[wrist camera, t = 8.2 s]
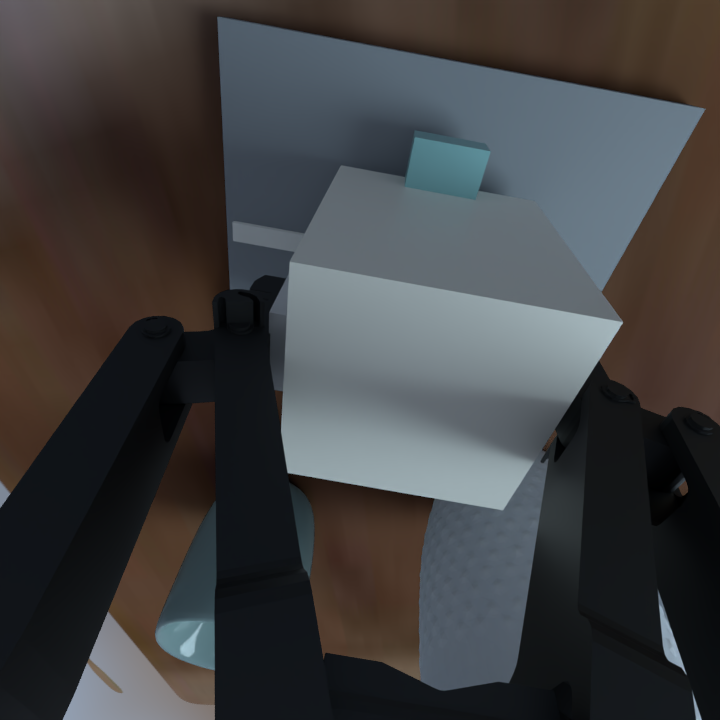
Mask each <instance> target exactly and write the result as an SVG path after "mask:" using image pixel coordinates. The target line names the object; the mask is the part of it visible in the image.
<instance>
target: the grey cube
mask: <svg viewBox="0 0 720 720" xmlns="http://www.w3.org/2000/svg"><path fill="white" fill-rule="evenodd" d="M490 152H491V151H490V150H489V148H488V147H487V145H486V144H485V143H480V142H475V141H470V140H465V139H459V138H454V137H449V136H443V135H438V134H433V133H427V132H422V131H417V130H415V131H414V136H413V141H412V145H411V150H410V155H409V160H408V165H407V170H406V175H405V177H402V176H397V175H391V174H386V173H380V172H375V171H370V170H364V169H359V168H353V167H348V166H343V165H341V166H340V168H339V170H338V172H337V174H336V175H335V177H334V179H333V181H332V183H331V185H330V187H329V189H328V190H327V192H326V194H325V196H324V198H323V200H322V202H321V204H320V205H319V207H318V209H317V211H316V213H315V215H314V217H313V219H312V221H311V222H310V224H309V226H308V228H307V230H306V232H305V234H304V236H303V237H302V239H301V241H300V243H299V245H298V247H297V249H296V251H295V252H294V254H293V256H292V258H291V260H290V264H289V284H288V304H287V324H286V343H285V363H284V383H283V403H282V422H281V434H282V441H283V447H284V453H285V459H286V466H287V472H288V473H291V474H297V475H303V476H308V477H314V478H320V479H326V480H331V481H337V482H343V483H349V484H354V485H360V486H366V487H372V488H377V489H383V490H389V491H395V492H400V493H406V494H412V495H418V496H423V497H429V498H435V499H441V500H446V501H452V502H458V503H464V504H469V505H475V506H481V507H487V508H492V509H498V510H504V508H505V507H506V505H507V503H508V502H509V500H510V499H511V497H512V496H513V494H514V492H515V491H516V489H517V488H518V486H519V485H520V483H521V481H522V480H523V478H524V477H525V475H526V474H527V472H528V471H529V469H530V467H531V466H532V464H533V463H534V461H535V460H536V458H537V456H538V455H539V453H540V452H541V450H542V449H543V447H544V445H545V444H546V442H547V441H548V439H549V438H550V436H551V434H552V433H553V431H554V430H555V428H556V427H557V425H558V424H559V422H560V420H561V419H562V417H563V416H564V414H565V413H566V411H567V409H568V408H569V406H570V405H571V403H572V402H573V400H574V398H575V397H576V395H577V394H578V392H579V391H580V389H581V388H582V386H583V384H584V383H585V381H586V380H587V378H588V377H589V375H590V373H591V372H592V370H593V369H594V367H595V366H596V364H597V362H598V361H599V359H600V358H601V356H602V355H603V353H604V351H605V350H606V348H607V347H608V345H609V344H610V342H611V341H612V339H613V337H614V336H615V334H616V333H617V331H618V330H619V328H620V326H621V325H622V323H623V321H622V320H621V319H620V317H619V316H618V314H617V313H616V312H615V310H614V309H613V308H612V306H611V305H610V304H609V302H608V301H607V299H606V298H605V297H604V295H603V294H602V293H601V291H600V290H599V288H598V287H597V286H596V284H595V283H594V282H593V280H592V279H591V277H590V276H589V275H588V273H587V272H586V271H585V269H584V268H583V267H582V265H581V264H580V262H579V261H578V260H577V258H576V257H575V256H574V254H573V253H572V251H571V250H570V249H569V247H568V246H567V245H566V243H565V242H564V240H563V239H562V238H561V236H560V235H559V234H558V232H557V231H556V229H555V228H554V227H553V225H552V224H551V223H550V221H549V220H548V219H547V217H546V216H545V214H544V213H543V212H542V210H541V209H540V208H539V206H538V205H537V203H536V202H535V201H531V200H526V199H520V198H515V197H509V196H504V195H499V194H493V193H488V192H483V191H478V190H479V187H480V184H481V181H482V178H483V174H484V171H485V168H486V165H487V162H488V158H489V155H490Z"/></svg>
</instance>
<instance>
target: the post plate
mask: <svg viewBox="0 0 720 720" xmlns="http://www.w3.org/2000/svg"><path fill="white" fill-rule="evenodd" d="M217 20H218V41H219V63H220V84H221V106H222V127H223V149H224V170H225V192H226V213H227V235H228V257H229V278H230V290H232V289H244V290H250V287H251V286H252V284H253V282H254V281H255V280H257V279H258V278H260V277H262V276H264V275H269V276H275V277H281V278H287V276H288V274H289V264H290V260H291V258H292V256H293V254H294V252H295V251H296V249H297V247H298V245H299V243H300V241H301V239H302V237H303V236H304V234H305V232H306V230H307V228H308V226H309V224H310V222H311V221H312V219H313V217H314V215H315V213H316V211H317V209H318V207H319V205H320V204H321V202H322V200H323V198H324V196H325V194H326V192H327V190H328V189H329V187H330V185H331V183H332V181H333V179H334V177H335V175H336V174H337V172H338V170H339V168H340V166H341V165H343V166H348V167H353V168H359V169H364V170H370V171H375V172H380V173H386V174H391V175H397V176H402V177H405V175H406V170H407V165H408V160H409V155H410V150H411V145H412V141H413V136H414V131H415V130H417V131H422V132H427V133H433V134H438V135H443V136H449V137H454V138H459V139H465V140H470V141H475V142H480V143H485V144H486V145H487V147H488V148H489V150H490V151H491V152H490V155H489V158H488V162H487V165H486V168H485V171H484V174H483V178H482V181H481V184H480V187H479V190H478V191H483V192H488V193H493V194H499V195H504V196H509V197H515V198H520V199H526V200H531V201H535V202H536V203H537V205H538V206H539V208H540V209H541V210H542V212H543V213H544V214H545V216H546V217H547V219H548V220H549V221H550V223H551V224H552V225H553V227H554V228H555V229H556V231H557V232H558V234H559V235H560V236H561V238H562V239H563V240H564V242H565V243H566V245H567V246H568V247H569V249H570V250H571V251H572V253H573V254H574V256H575V257H576V258H577V260H578V261H579V262H580V264H581V265H582V267H583V268H584V269H585V271H586V272H587V273H588V275H589V276H590V277H591V279H592V280H593V282H594V283H595V284H596V286H597V287H598V288H599V290H600V291H601V292H602V290H603V288H604V286H605V285H606V283H607V281H608V279H609V277H610V276H611V274H612V272H613V270H614V269H615V267H616V265H617V263H618V262H619V260H620V258H621V256H622V255H623V253H624V251H625V249H626V248H627V246H628V244H629V242H630V241H631V239H632V237H633V235H634V233H635V232H636V230H637V228H638V226H639V225H640V223H641V221H642V219H643V218H644V216H645V214H646V212H647V211H648V209H649V207H650V205H651V204H652V202H653V200H654V198H655V196H656V195H657V193H658V191H659V189H660V188H661V186H662V184H663V182H664V181H665V179H666V177H667V175H668V174H669V172H670V170H671V168H672V167H673V165H674V163H675V161H676V160H677V158H678V156H679V154H680V152H681V151H682V149H683V147H684V145H685V144H686V142H687V140H688V138H689V137H690V135H691V133H692V131H693V130H694V128H695V126H696V124H697V123H698V121H699V119H700V117H701V116H702V114H703V112H704V110H705V109H703V108H700V107H696V106H692V105H688V104H682V103H677V102H672V101H666V100H661V99H656V98H651V97H645V96H640V95H635V94H629V93H624V92H619V91H614V90H608V89H603V88H598V87H592V86H587V85H582V84H577V83H571V82H566V81H561V80H555V79H550V78H545V77H540V76H534V75H529V74H524V73H518V72H513V71H508V70H503V69H497V68H492V67H487V66H481V65H476V64H471V63H466V62H460V61H455V60H450V59H444V58H439V57H434V56H429V55H423V54H418V53H413V52H407V51H402V50H397V49H392V48H386V47H381V46H376V45H370V44H365V43H360V42H355V41H349V40H344V39H339V38H333V37H328V36H323V35H318V34H312V33H307V32H302V31H296V30H291V29H286V28H281V27H275V26H270V25H265V24H259V23H254V22H249V21H244V20H238V19H233V18H227V17H217Z"/></svg>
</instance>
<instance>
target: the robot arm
mask: <svg viewBox="0 0 720 720" xmlns="http://www.w3.org/2000/svg"><path fill="white" fill-rule="evenodd" d="M288 284H289V274H288V276H287V278H281V277H275V276H269V275H264V276H262V277H260V278H258V279H257V280H255V281H254V282H253V284H252V286H251V287H250V290H244V289H232V290H226V291H223V292H220V293H219V294H217V295H216V296H215V297H214V299H213V301H212V305H213V318H214V330H209V331H200V332H184V329H183V326H182V324H181V322H179V321H178V320H176V319H174V318H171V317H166V316H152V317H147V318H143V319H141V320H139V321H136V322H135V323H134V324H132V325H131V326H130V327H129V328H128V330H127V331H126V333H125V334H124V336H123V337H122V338H121V340H120V341H119V343H118V344H117V345H116V347H115V348H114V350H113V351H112V352H111V354H110V355H109V357H108V358H107V359H106V361H105V362H104V364H103V365H102V366H101V368H100V369H99V371H98V372H97V373H96V375H95V376H94V378H93V379H92V380H91V382H90V383H89V385H88V386H87V387H86V389H85V390H84V392H83V393H82V394H81V396H80V397H79V399H78V400H77V401H76V403H75V404H74V406H73V407H72V408H71V410H70V411H69V413H68V414H67V415H66V417H65V418H64V420H63V421H62V422H61V424H60V425H59V427H58V428H57V429H56V431H55V432H54V434H53V435H52V436H51V438H50V439H49V441H48V442H47V443H46V445H45V446H44V448H43V449H42V450H41V452H40V453H39V455H38V456H37V458H36V459H35V460H34V462H33V463H32V465H31V466H30V467H29V469H28V470H27V472H26V473H25V474H24V476H23V477H22V479H21V480H20V481H19V483H18V484H17V486H16V487H15V488H14V490H13V491H12V493H11V494H10V495H9V497H8V498H7V500H6V501H5V502H4V504H3V505H2V507H1V508H0V720H63V717H64V715H65V713H66V711H67V709H68V707H69V704H70V702H71V700H72V698H73V696H74V693H75V691H76V689H77V686H78V683H79V681H80V679H81V676H82V674H83V671H84V669H85V666H86V664H87V661H88V659H89V657H90V654H91V652H92V649H93V646H94V644H95V642H96V639H97V637H98V634H99V632H100V630H101V627H102V624H103V622H104V620H105V617H106V615H107V612H108V610H109V607H110V605H111V602H112V600H113V598H114V595H115V593H116V590H117V588H118V585H119V583H120V580H121V578H122V575H123V573H124V570H125V568H126V566H127V563H128V561H129V558H130V556H131V553H132V551H133V548H134V546H135V543H136V541H137V539H138V536H139V534H140V531H141V529H142V526H143V524H144V521H145V519H146V516H147V514H148V511H149V509H150V507H151V504H152V502H153V499H154V497H155V494H156V492H157V489H158V487H159V484H160V482H161V480H162V477H163V475H164V472H165V470H166V467H167V465H168V462H169V460H170V457H171V455H172V452H173V450H174V448H175V445H176V443H177V440H178V438H179V435H180V433H181V430H182V428H183V425H184V423H185V420H186V418H187V416H188V413H189V411H190V408H191V406H192V403H202V402H215V464H216V588H215V610H214V622H215V720H696V715H695V707H694V700H693V695H694V698H695V701H696V704H697V707H698V710H699V713H700V716H701V719H702V720H720V426H719V425H718V424H717V423H716V422H714V421H713V420H712V419H711V418H710V417H709V416H707V415H705V414H703V413H701V412H699V411H695V410H693V409H690V408H684V407H677V408H674V409H673V410H672V411H671V412H670V413H669V414H668V416H667V417H664V416H661V415H658V414H656V413H653V412H650V411H648V410H645V409H643V408H640V402H639V400H638V397H637V396H636V395H635V394H634V393H633V392H632V391H631V390H629V389H628V388H627V387H625V386H624V385H622V384H620V383H617V382H615V381H612V380H610V379H609V378H608V376H607V374H606V372H605V371H604V369H603V367H602V365H601V364H600V362H599V361H598V362H597V364H596V366H595V367H594V369H593V370H592V372H591V373H590V375H589V377H588V378H587V380H586V381H585V383H584V384H583V386H582V388H581V389H580V391H579V392H578V394H577V395H576V397H575V398H574V400H573V402H572V403H571V405H570V406H569V408H568V409H567V411H566V413H565V414H564V416H563V417H562V419H561V420H560V422H559V424H558V425H557V427H556V428H555V429H556V432H557V436H556V437H555V439H554V440H553V442H552V443H551V445H550V447H549V448H548V450H547V451H546V453H545V454H544V456H543V457H542V459H541V461H540V462H541V463H544V462H545V461H546V459H548V466H547V472H546V479H545V485H544V492H543V498H542V505H541V511H540V518H539V524H538V531H537V537H536V544H535V550H534V557H533V563H532V570H531V576H530V583H529V589H528V596H527V602H526V609H525V615H524V622H523V628H522V635H521V641H520V648H519V654H518V660H517V664H516V668H515V671H514V673H513V675H512V677H511V680H510V682H509V683H504V682H494V683H488V684H482V685H476V686H470V687H464V688H458V689H453V690H446V691H443V690H438V689H435V688H433V687H431V686H429V685H427V684H425V683H423V682H421V681H419V680H417V679H415V678H413V677H411V676H409V675H407V674H405V673H403V672H401V671H399V670H397V669H395V668H393V667H391V666H389V665H387V664H385V663H383V662H378V661H372V660H366V659H360V658H354V657H348V656H342V655H336V654H330V653H325V657H324V660H323V654H322V648H321V642H320V636H319V631H318V625H317V619H316V613H315V607H314V601H313V595H312V590H311V585H310V580H309V577H308V573H307V571H306V570H305V569H304V567H303V564H302V559H301V554H300V547H299V541H298V535H297V528H296V522H295V516H294V510H293V503H292V497H291V491H290V484H289V478H288V472H287V466H286V459H285V453H284V447H283V441H282V434H281V428H280V422H279V415H278V409H277V403H276V397H275V390H278V391H283V383H284V363H285V343H286V324H287V304H288ZM685 480H686V482H687V485H688V493H687V494H686V495H684V496H682V494H681V492H680V490H679V488H678V487H679V486H680V485H681V484H682V483H683V482H684V481H685ZM658 591H659V594H660V597H661V600H662V603H663V606H664V609H665V612H666V615H667V618H668V621H669V624H670V627H671V630H672V633H673V636H674V639H675V642H676V645H677V648H678V651H679V654H680V657H681V660H682V663H683V666H684V669H685V672H686V674H687V675H686V674H685V672H684V671H683V669H682V668H681V667H679V666H677V665H675V664H674V663H672V662H670V661H668V659H667V657H666V656H665V653H664V649H663V640H662V630H661V619H660V609H659V598H658ZM692 692H693V693H692Z"/></svg>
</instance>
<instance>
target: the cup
mask: <svg viewBox="0 0 720 720" xmlns="http://www.w3.org/2000/svg"><path fill="white" fill-rule="evenodd" d="M289 484H290V491H291V497H292V503H293V510H294V516H295V522H296V528H297V535H298V541H299V547H300V554H301V559H302V564H303V567H304V569H305V570H306V571H307V573H308V577H309V580H310V575H311V568H312V561H313V552H314V538H315V526H314V514H313V510H312V507H311V504H310V501H309V500H308V498H307V497H306V495H305V494H304V492H303V491H302V490H300V489H299V488H298V487H297V486H295V485H293V484H292V483H290V482H289ZM215 588H216V500H215V501H214V503H213V504H212V506H211V507H210V509H209V510H208V512H207V514H206V515H205V517H204V519H203V521H202V523H201V524H200V526H199V528H198V530H197V532H196V534H195V536H194V538H193V540H192V543H191V545H190V547H189V549H188V551H187V553H186V556H185V558H184V560H183V562H182V565H181V567H180V569H179V572H178V574H177V576H176V578H175V581H174V583H173V585H172V588H171V590H170V592H169V595H168V597H167V600H166V602H165V604H164V607H163V609H162V612H161V614H160V617H159V620H158V623H157V626H156V630H155V636H156V641H157V643H158V644H159V646H160V647H161V648H162V649H163V650H164V651H166V652H167V653H169V654H170V655H172V656H174V657H176V658H178V659H180V660H183V661H185V662H188V663H191V664H193V665H197V666H200V667H203V668H207V669H211V670H215V622H214V610H215Z"/></svg>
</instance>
